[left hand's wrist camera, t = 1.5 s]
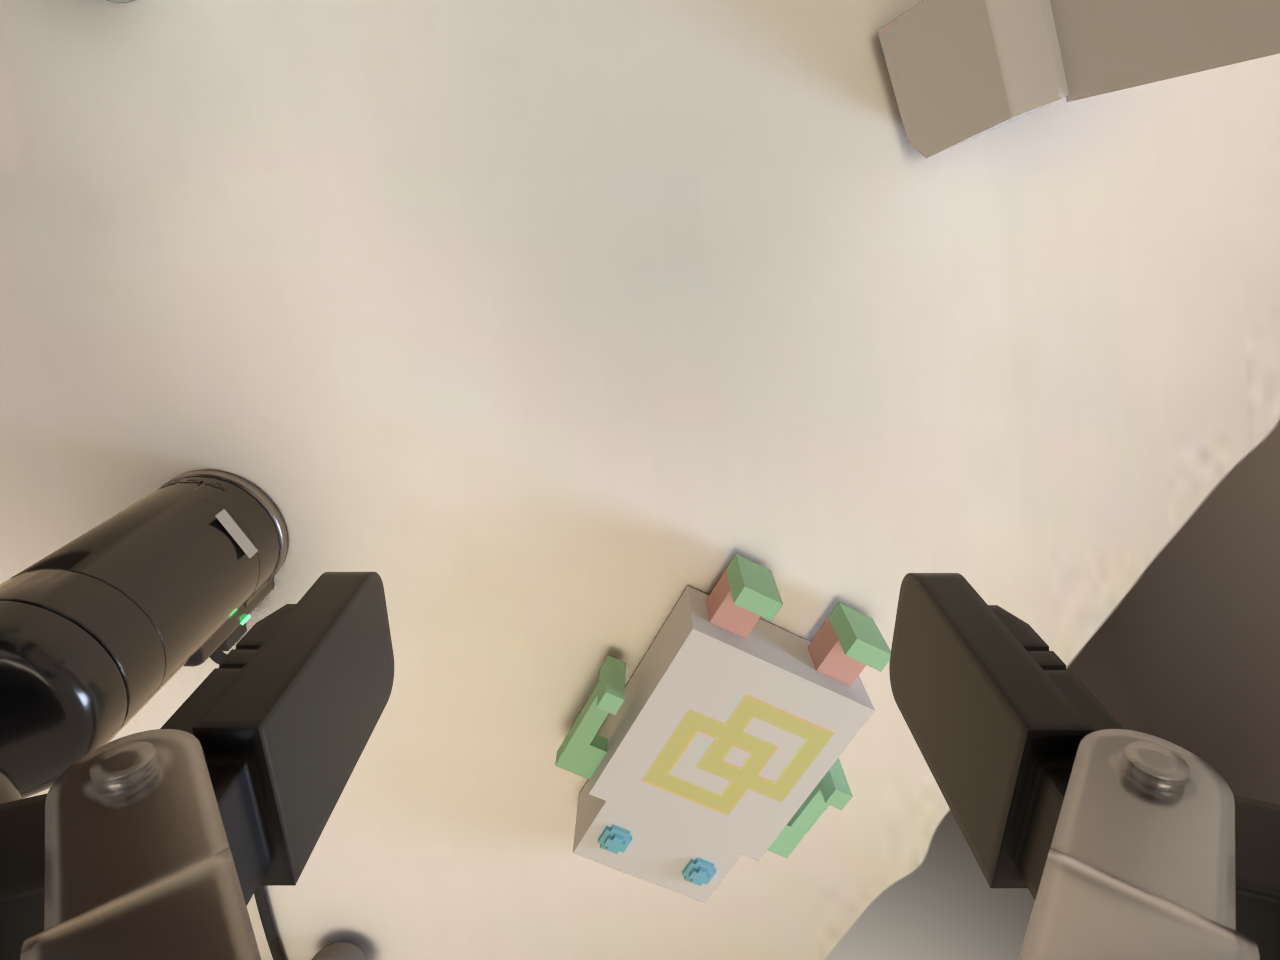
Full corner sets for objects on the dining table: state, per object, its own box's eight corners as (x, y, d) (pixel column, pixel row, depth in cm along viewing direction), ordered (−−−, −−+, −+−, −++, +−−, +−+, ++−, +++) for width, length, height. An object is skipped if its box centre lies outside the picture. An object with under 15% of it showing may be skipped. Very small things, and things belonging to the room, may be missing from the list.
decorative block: (754, 929, 57) (519, 841, 53) (742, 859, 63) (531, 776, 59) (949, 686, 48) (686, 564, 45) (915, 633, 54) (681, 521, 51)
